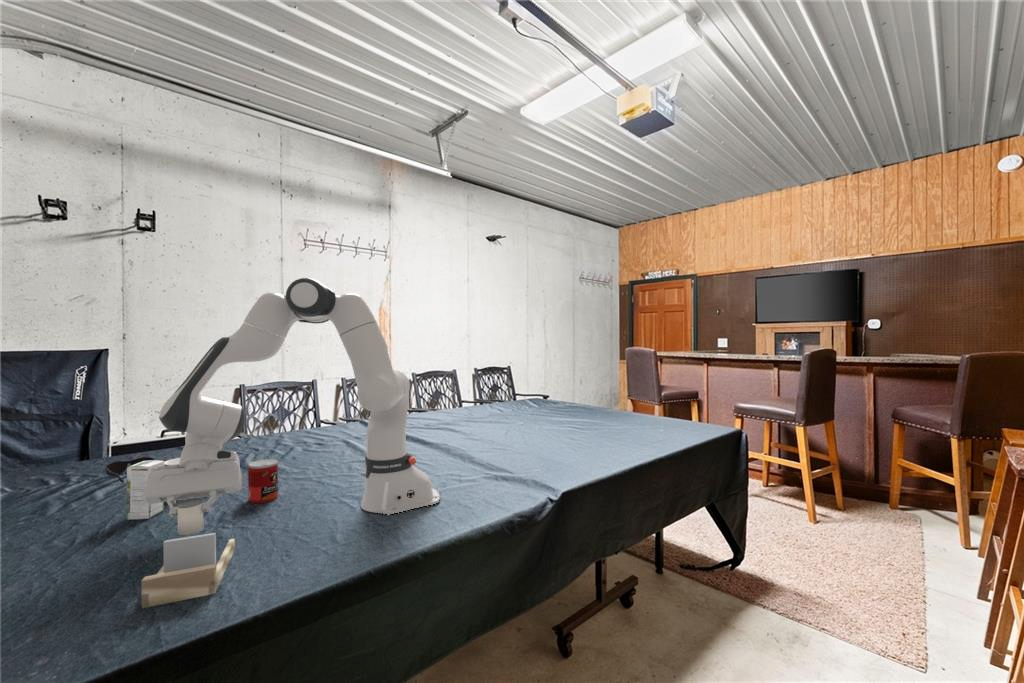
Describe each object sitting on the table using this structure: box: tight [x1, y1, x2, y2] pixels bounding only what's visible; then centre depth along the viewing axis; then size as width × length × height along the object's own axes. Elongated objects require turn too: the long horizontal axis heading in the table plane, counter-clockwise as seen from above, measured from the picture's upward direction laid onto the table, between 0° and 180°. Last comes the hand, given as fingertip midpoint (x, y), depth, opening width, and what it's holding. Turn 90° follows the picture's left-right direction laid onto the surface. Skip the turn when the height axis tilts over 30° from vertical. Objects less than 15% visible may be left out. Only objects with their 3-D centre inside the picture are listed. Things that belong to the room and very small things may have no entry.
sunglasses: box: [105, 456, 157, 483], centre depth 151 cm, size 14×16×5 cm
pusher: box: [162, 532, 217, 573], centre depth 85 cm, size 1×8×8 cm, turn 113°
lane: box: [141, 538, 236, 609], centre depth 87 cm, size 18×11×5 cm, turn 23°
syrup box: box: [126, 459, 165, 521], centre depth 117 cm, size 6×6×14 cm
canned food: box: [247, 458, 279, 504], centre depth 129 cm, size 8×8×11 cm
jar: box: [176, 497, 204, 536], centre depth 103 cm, size 5×5×7 cm
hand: (189, 513), depth 103 cm, fingers closed on jar, 5 cm apart
